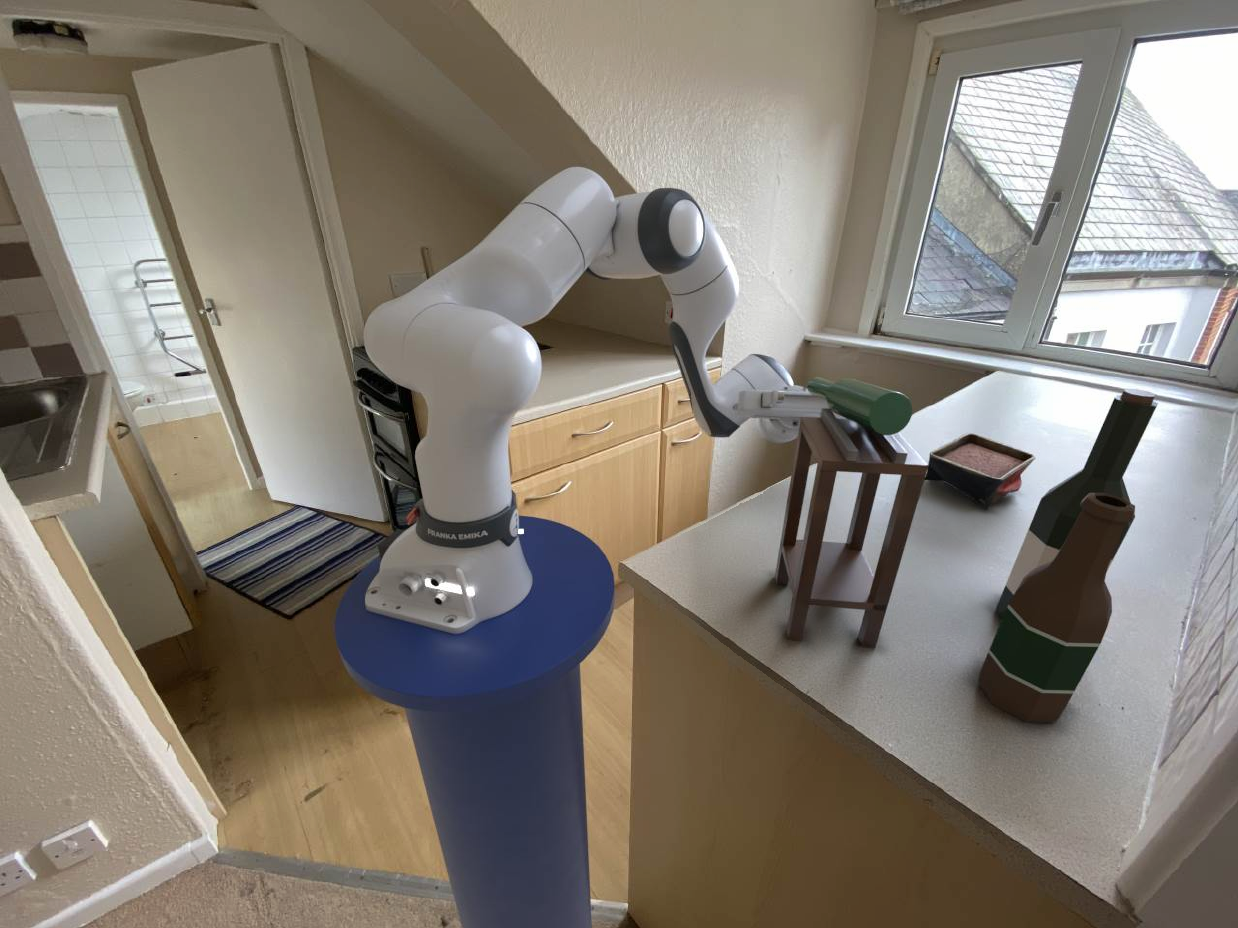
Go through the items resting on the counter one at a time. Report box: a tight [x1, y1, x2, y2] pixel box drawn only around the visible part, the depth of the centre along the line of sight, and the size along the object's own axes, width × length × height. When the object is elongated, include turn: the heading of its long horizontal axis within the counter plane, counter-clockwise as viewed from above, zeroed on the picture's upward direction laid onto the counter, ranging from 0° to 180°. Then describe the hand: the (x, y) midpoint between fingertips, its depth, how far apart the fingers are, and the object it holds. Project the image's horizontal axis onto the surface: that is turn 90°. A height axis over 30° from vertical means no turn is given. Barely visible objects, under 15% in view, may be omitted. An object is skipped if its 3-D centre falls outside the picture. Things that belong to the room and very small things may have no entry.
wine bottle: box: [994, 388, 1159, 620], centre depth 59 cm, size 8×8×30 cm
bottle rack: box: [774, 408, 928, 649], centre depth 62 cm, size 10×12×25 cm
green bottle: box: [806, 376, 913, 435], centre depth 62 cm, size 18×4×4 cm, turn 3°
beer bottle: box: [977, 493, 1136, 724], centre depth 51 cm, size 8×8×24 cm
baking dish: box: [924, 432, 1036, 511], centre depth 95 cm, size 14×18×10 cm
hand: (812, 396), depth 79 cm, fingers open, 8 cm apart
